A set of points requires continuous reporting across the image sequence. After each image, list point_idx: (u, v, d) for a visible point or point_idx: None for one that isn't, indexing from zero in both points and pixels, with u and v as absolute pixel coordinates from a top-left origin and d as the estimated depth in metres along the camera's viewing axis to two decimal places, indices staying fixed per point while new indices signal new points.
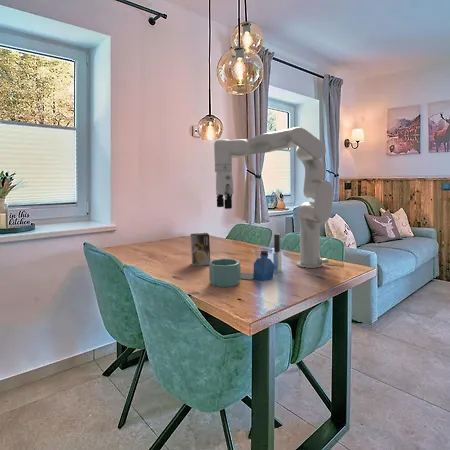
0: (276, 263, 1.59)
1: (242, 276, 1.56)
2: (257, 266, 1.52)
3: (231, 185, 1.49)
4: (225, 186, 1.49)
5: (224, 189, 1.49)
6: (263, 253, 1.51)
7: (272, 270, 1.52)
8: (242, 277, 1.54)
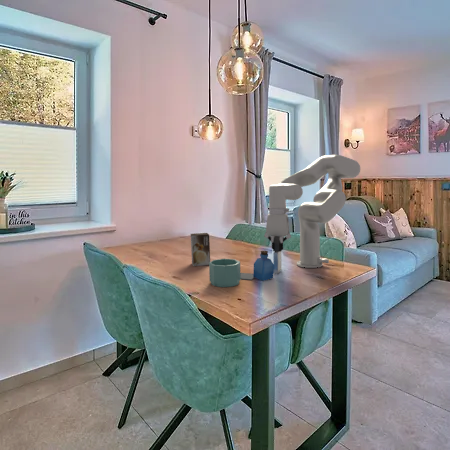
0: (276, 263, 1.59)
1: (242, 276, 1.56)
2: (257, 266, 1.52)
3: (288, 226, 1.61)
4: (287, 228, 1.59)
5: None
6: (263, 253, 1.51)
7: (272, 270, 1.52)
8: (242, 277, 1.54)
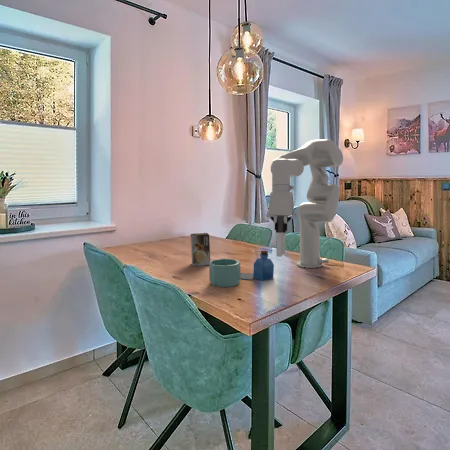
0: (279, 244, 1.45)
1: (242, 276, 1.56)
2: (257, 266, 1.52)
3: (293, 205, 1.47)
4: (292, 207, 1.44)
5: None
6: (263, 253, 1.51)
7: (272, 270, 1.52)
8: (242, 277, 1.54)
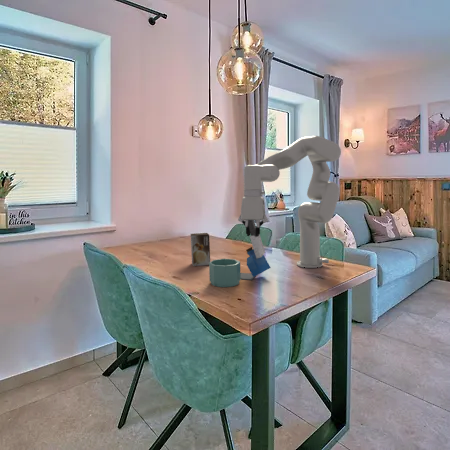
0: (256, 246, 1.49)
1: (242, 276, 1.56)
2: (249, 264, 1.54)
3: None
4: (263, 211, 1.49)
5: None
6: (248, 250, 1.55)
7: (265, 260, 1.54)
8: (242, 277, 1.54)
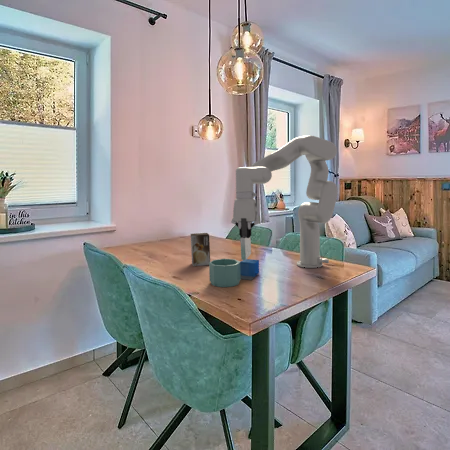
0: (244, 248, 1.51)
1: (242, 276, 1.56)
2: (242, 270, 1.57)
3: None
4: (255, 213, 1.50)
5: None
6: None
7: (250, 259, 1.61)
8: (242, 277, 1.54)
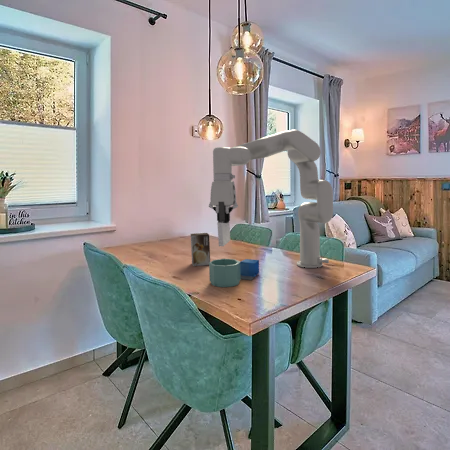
0: (221, 234, 1.42)
1: (242, 276, 1.56)
2: (242, 270, 1.57)
3: (235, 195, 1.43)
4: (233, 196, 1.41)
5: None
6: None
7: (250, 259, 1.61)
8: (242, 277, 1.54)
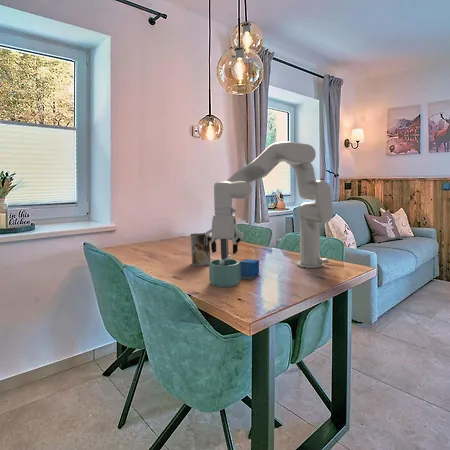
0: None
1: (242, 276, 1.56)
2: (242, 270, 1.57)
3: (236, 228, 1.45)
4: (234, 230, 1.43)
5: (233, 234, 1.43)
6: None
7: (250, 259, 1.61)
8: (242, 277, 1.54)
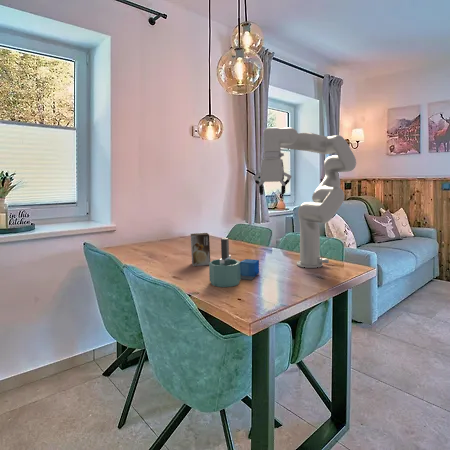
0: None
1: (242, 276, 1.56)
2: (242, 270, 1.57)
3: (283, 172, 1.56)
4: (282, 173, 1.54)
5: (282, 176, 1.54)
6: None
7: (250, 259, 1.61)
8: (242, 277, 1.54)
